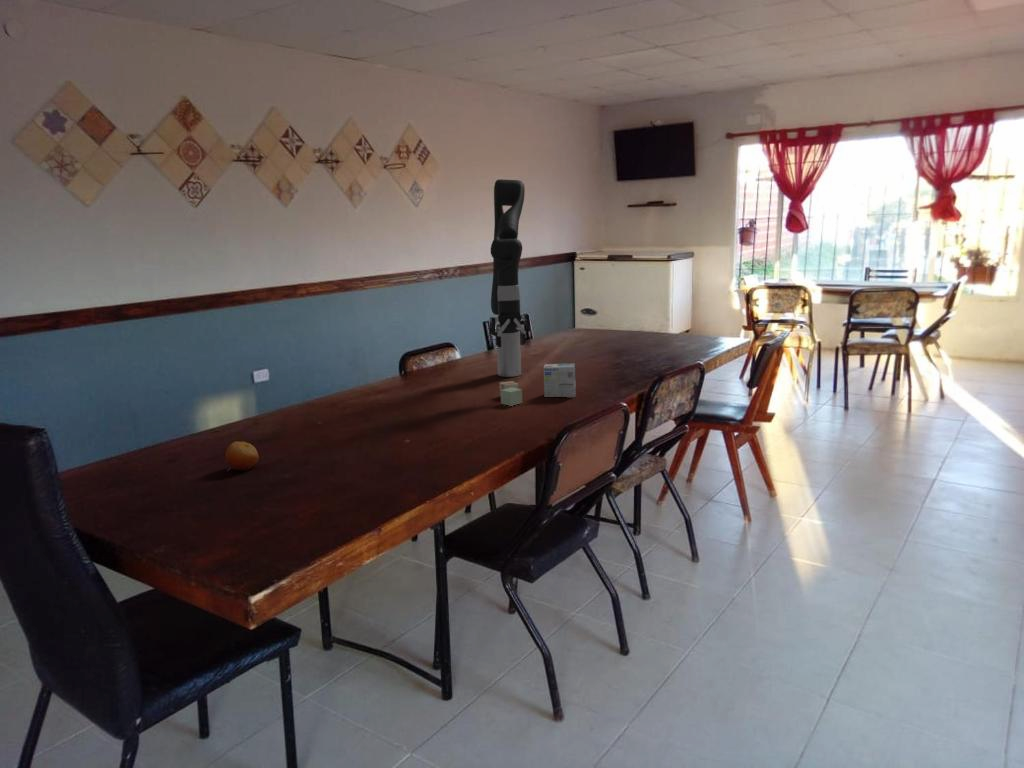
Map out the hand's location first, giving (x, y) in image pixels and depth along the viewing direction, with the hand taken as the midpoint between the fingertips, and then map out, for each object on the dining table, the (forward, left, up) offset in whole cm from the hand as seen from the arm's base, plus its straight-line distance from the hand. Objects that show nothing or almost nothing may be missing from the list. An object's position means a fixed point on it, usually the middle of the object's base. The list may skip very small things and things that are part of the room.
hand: (510, 346), depth 255 cm
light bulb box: (+9, +14, -18) cm, 24 cm away
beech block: (+2, -2, -17) cm, 18 cm away
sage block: (+12, -5, -17) cm, 22 cm away
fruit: (+42, -90, -18) cm, 101 cm away
